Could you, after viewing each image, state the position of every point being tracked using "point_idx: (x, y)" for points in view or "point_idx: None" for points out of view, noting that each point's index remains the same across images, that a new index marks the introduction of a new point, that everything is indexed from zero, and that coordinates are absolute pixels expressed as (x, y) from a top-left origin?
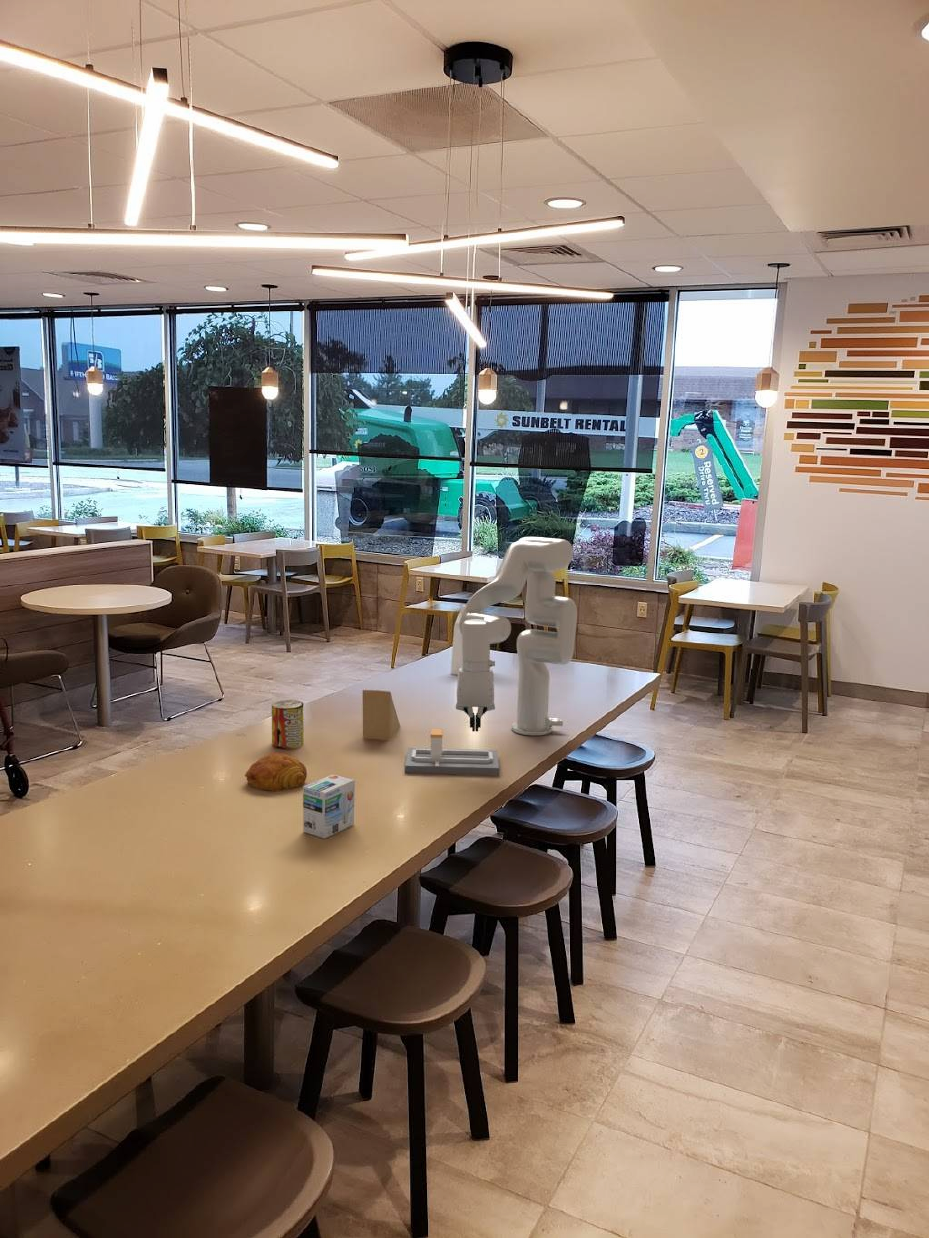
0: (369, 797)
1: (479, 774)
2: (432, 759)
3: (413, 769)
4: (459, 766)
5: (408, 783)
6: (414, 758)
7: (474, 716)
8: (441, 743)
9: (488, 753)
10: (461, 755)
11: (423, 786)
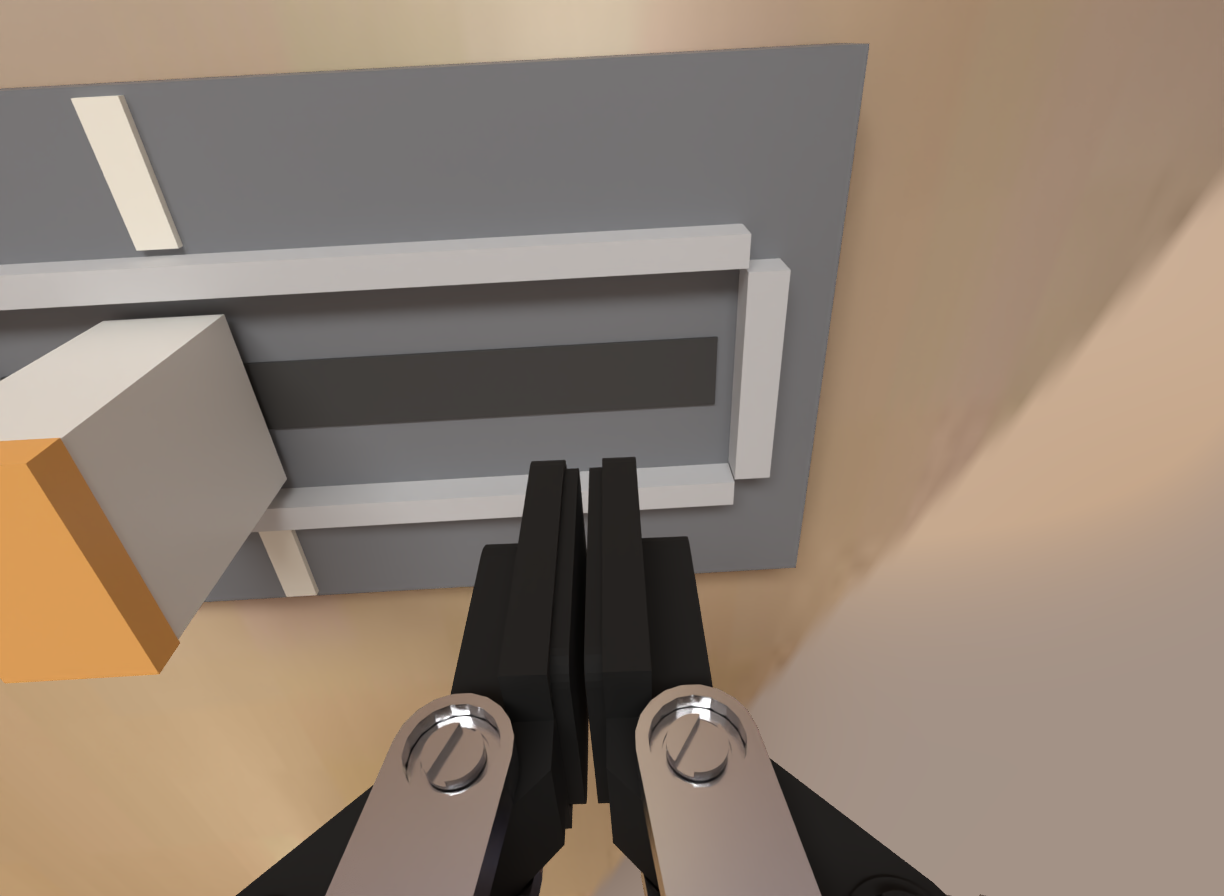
0: (109, 843)
1: None
2: None
3: None
4: None
5: (210, 703)
6: None
7: (566, 750)
8: (209, 585)
9: (743, 273)
10: (449, 315)
11: (315, 724)
